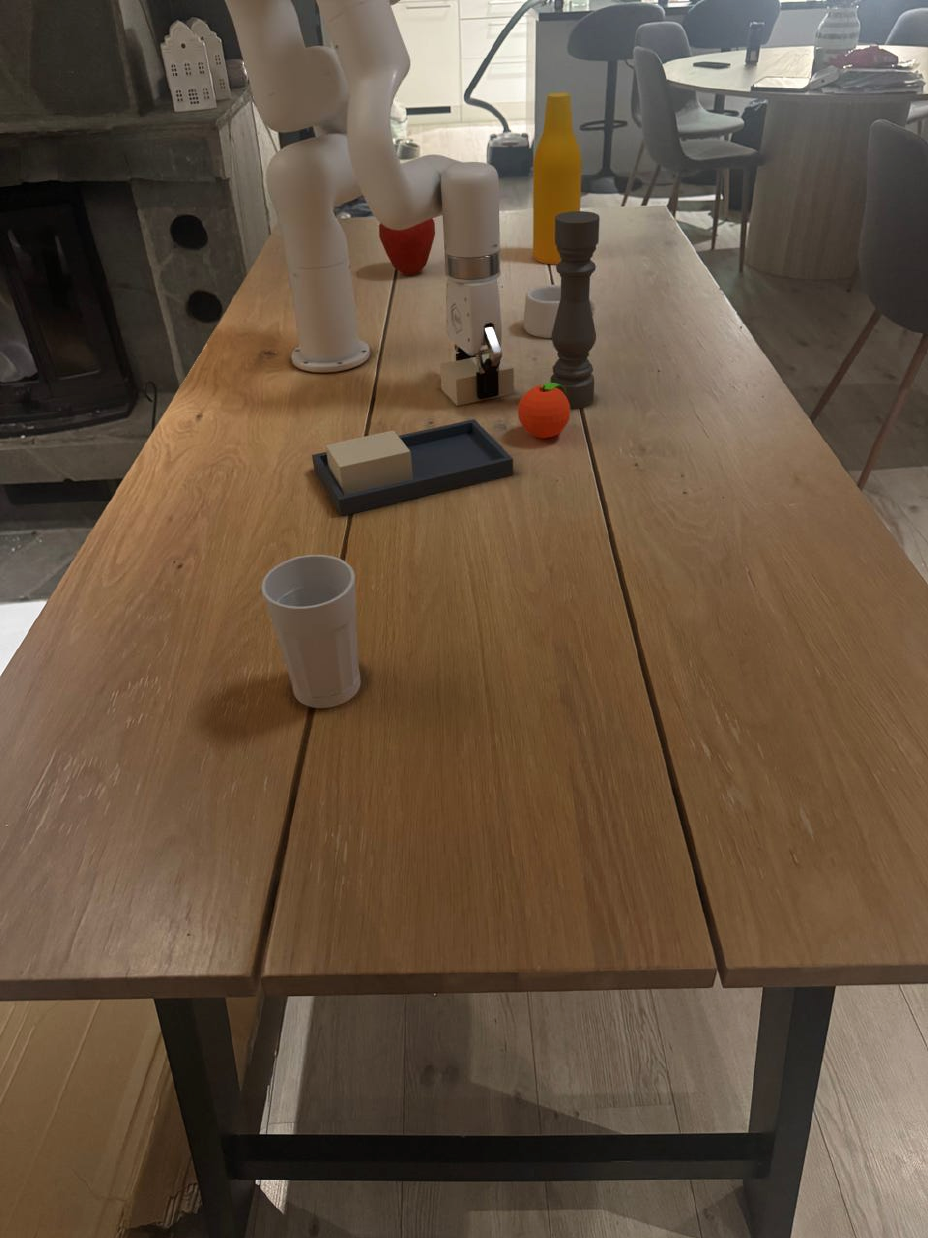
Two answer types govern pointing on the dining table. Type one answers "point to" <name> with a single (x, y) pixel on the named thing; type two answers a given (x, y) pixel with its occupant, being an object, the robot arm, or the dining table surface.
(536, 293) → the mug
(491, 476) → the dark grey flat tray
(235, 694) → the dining table surface
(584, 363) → the candle holder
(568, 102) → the beer bottle
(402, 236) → the apple
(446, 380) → the beige rectangular block
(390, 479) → the block
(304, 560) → the cup
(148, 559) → the dining table surface
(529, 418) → the clementine
